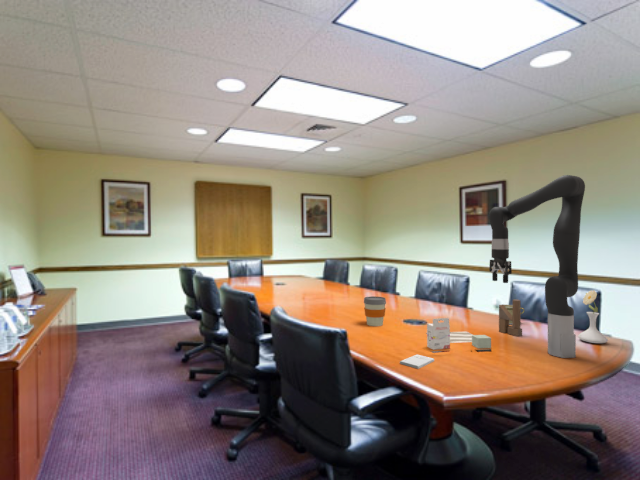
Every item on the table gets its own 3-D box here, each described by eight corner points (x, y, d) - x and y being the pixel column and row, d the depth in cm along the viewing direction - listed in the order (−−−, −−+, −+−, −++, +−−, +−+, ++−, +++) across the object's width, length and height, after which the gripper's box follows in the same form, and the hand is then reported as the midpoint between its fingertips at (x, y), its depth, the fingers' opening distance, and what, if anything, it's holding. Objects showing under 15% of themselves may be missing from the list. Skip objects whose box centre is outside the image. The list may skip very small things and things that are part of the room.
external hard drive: (399, 365, 144) (416, 357, 153) (418, 370, 138) (434, 362, 147) (399, 360, 144) (416, 353, 153) (418, 366, 138) (434, 358, 147)
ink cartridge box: (443, 348, 164) (443, 315, 164) (450, 351, 160) (450, 317, 159) (426, 349, 162) (426, 316, 162) (432, 353, 157) (432, 319, 157)
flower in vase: (577, 337, 182) (577, 287, 182) (605, 340, 176) (606, 288, 176) (579, 344, 171) (579, 290, 170) (610, 347, 165) (610, 292, 165)
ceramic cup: (501, 324, 208) (501, 307, 208) (497, 321, 218) (497, 304, 218) (527, 326, 205) (527, 308, 205) (521, 322, 215) (521, 305, 215)
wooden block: (503, 331, 195) (503, 297, 194) (522, 335, 185) (522, 300, 185) (498, 331, 193) (498, 297, 193) (517, 336, 183) (517, 300, 183)
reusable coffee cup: (360, 322, 214) (360, 297, 214) (379, 321, 218) (379, 295, 218) (369, 327, 202) (369, 300, 202) (389, 326, 206) (389, 299, 206)
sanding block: (491, 351, 160) (491, 337, 160) (477, 352, 159) (478, 338, 159) (484, 348, 165) (484, 334, 165) (472, 348, 164) (472, 335, 164)
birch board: (486, 344, 170) (486, 341, 170) (441, 346, 167) (441, 343, 167) (466, 334, 187) (466, 331, 187) (425, 335, 185) (425, 332, 185)
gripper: (516, 248, 171) (516, 283, 171) (498, 247, 185) (498, 280, 185) (501, 248, 170) (501, 283, 170) (484, 248, 184) (484, 280, 184)
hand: (500, 281), depth 178 cm, fingers open, 8 cm apart
